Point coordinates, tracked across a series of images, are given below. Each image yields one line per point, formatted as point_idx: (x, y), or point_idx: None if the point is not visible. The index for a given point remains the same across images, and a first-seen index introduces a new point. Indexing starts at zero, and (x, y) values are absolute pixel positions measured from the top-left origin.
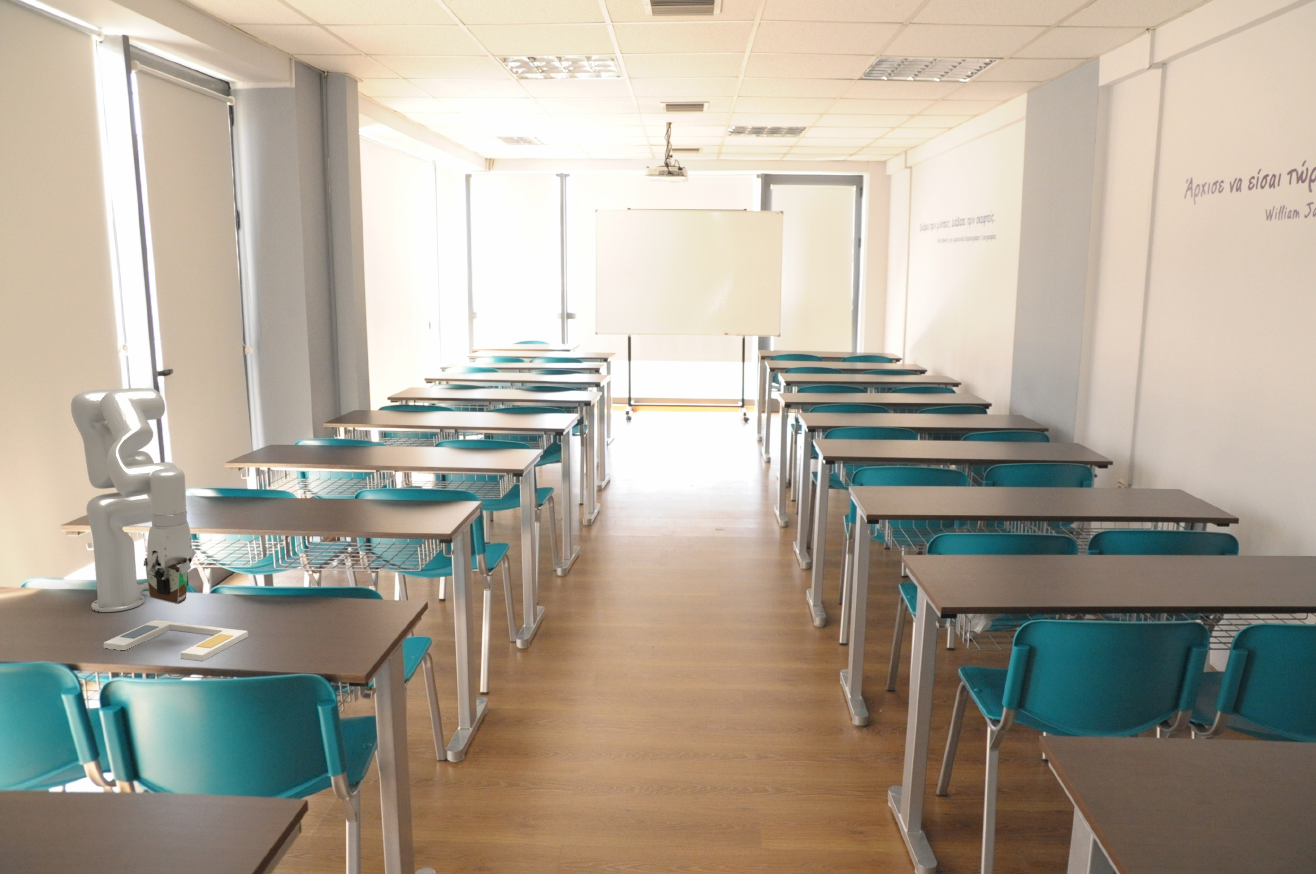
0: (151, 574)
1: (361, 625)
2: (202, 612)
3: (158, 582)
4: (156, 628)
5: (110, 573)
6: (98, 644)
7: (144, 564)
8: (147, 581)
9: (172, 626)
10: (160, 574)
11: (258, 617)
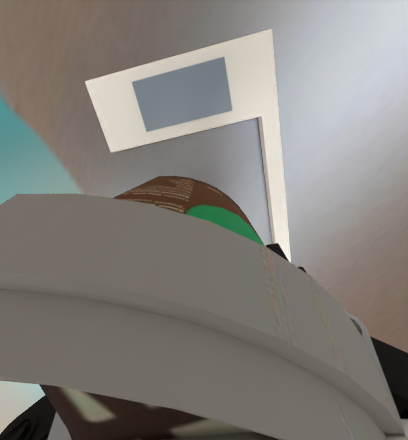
0: (16, 419)
1: None
2: (405, 66)
3: None
4: (223, 113)
5: None
6: (96, 35)
7: (5, 220)
8: (128, 191)
9: (261, 126)
10: None
11: (395, 232)
